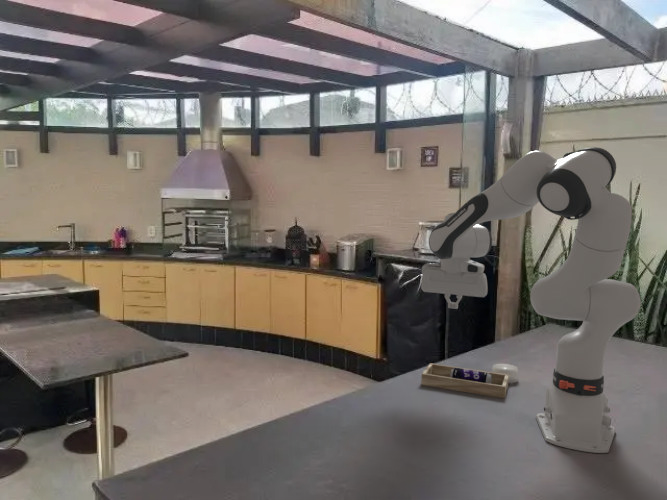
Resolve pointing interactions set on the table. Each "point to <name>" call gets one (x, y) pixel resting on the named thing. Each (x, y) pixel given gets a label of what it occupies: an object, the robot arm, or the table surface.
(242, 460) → the table surface
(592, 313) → the robot arm
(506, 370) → the soap bar
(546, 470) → the table surface
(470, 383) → the wooden tray
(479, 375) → the beverage can
